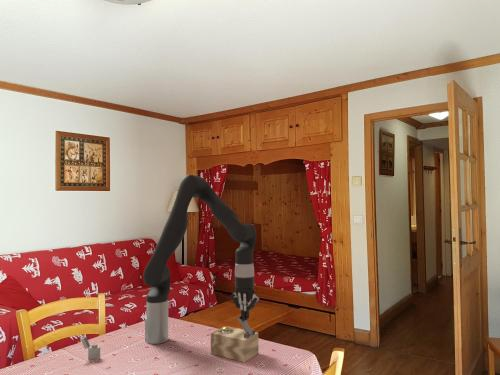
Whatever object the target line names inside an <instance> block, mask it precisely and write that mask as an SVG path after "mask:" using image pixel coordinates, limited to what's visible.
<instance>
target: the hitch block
mask: <svg viewBox="0 0 500 375" xmlns="http://www.w3.org/2000/svg"><path fill="white" fill-rule="evenodd" d="M251 330H252V332H253V335H251V336H249V334H248V333H246V332H245V330H244V329H243V328H239V327H232V326H230V333H228V334H226V333H222V327H221V328H219V329H217V330H214V331H212V332H210V354H212V355H215V356H219V357H223V358H227V359H230V360H234V361H238V362H241V363H246V362H248V361H249V360H251V359H252V358H253V357H255V356H257V355H258V354H259V353H260V352H259V332H256V330H255V329H251Z"/></svg>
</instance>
